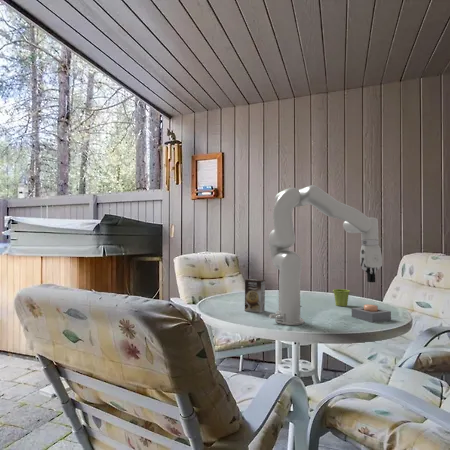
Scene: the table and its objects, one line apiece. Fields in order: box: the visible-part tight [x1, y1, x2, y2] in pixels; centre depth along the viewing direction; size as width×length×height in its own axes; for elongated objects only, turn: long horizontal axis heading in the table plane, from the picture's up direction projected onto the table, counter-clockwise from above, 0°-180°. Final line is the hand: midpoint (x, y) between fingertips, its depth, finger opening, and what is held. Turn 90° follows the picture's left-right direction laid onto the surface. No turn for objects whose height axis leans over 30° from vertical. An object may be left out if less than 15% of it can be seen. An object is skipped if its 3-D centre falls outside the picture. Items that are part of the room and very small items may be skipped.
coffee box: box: [244, 278, 266, 314], centre depth 164 cm, size 9×6×16 cm
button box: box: [351, 306, 392, 323], centre depth 149 cm, size 12×12×4 cm
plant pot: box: [332, 288, 351, 307], centre depth 180 cm, size 9×9×9 cm
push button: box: [363, 303, 379, 312], centre depth 149 cm, size 6×6×3 cm
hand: (371, 282), depth 150 cm, fingers closed
